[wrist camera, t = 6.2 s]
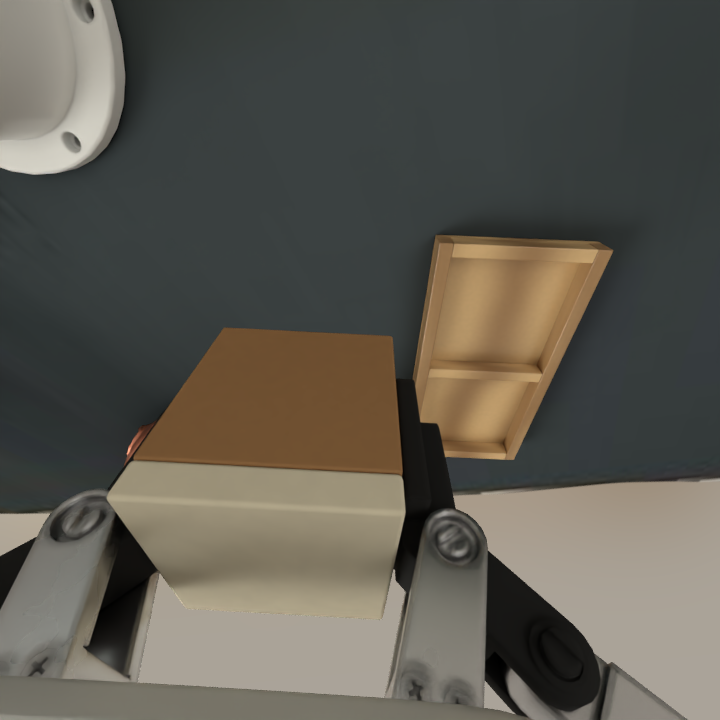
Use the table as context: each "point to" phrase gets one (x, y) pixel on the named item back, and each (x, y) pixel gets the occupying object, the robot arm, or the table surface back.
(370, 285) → the table surface
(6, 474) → the table surface
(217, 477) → the pad cream
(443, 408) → the wooden divided tray
